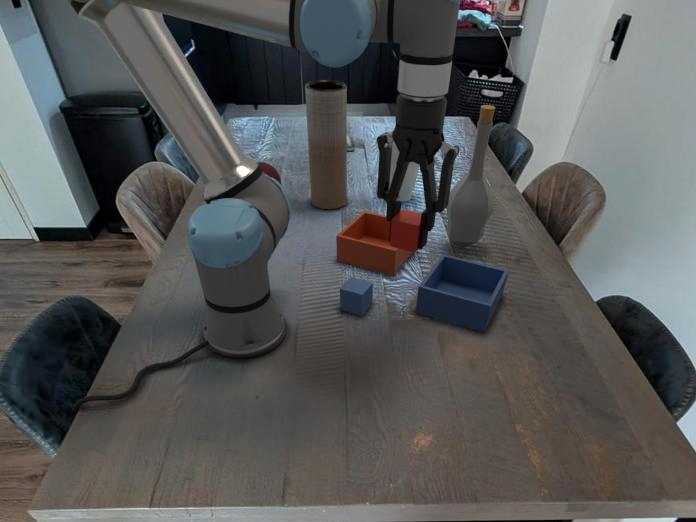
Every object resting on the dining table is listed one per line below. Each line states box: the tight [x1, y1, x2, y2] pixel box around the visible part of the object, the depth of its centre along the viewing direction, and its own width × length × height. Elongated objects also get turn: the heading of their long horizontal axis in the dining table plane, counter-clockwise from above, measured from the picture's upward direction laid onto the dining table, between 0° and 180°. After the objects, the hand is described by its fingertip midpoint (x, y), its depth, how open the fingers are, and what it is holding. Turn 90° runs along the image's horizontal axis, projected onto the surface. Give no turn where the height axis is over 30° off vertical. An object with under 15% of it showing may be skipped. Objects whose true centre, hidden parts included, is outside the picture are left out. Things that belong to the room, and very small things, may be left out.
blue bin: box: [414, 253, 510, 333], centre depth 98 cm, size 15×15×6 cm
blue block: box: [339, 276, 374, 317], centre depth 97 cm, size 5×5×5 cm
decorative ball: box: [257, 161, 282, 185], centre depth 129 cm, size 10×10×10 cm
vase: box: [304, 79, 348, 210], centre depth 123 cm, size 10×10×28 cm
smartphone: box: [347, 133, 354, 152], centre depth 165 cm, size 7×1×15 cm
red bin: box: [335, 210, 414, 277], centre depth 111 cm, size 15×15×6 cm
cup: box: [382, 128, 420, 203], centre depth 131 cm, size 12×12×16 cm
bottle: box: [445, 104, 496, 248], centre depth 106 cm, size 11×11×30 cm
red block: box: [390, 208, 422, 254], centre depth 86 cm, size 5×5×5 cm
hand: (407, 242), depth 87 cm, fingers closed on red block, 5 cm apart
